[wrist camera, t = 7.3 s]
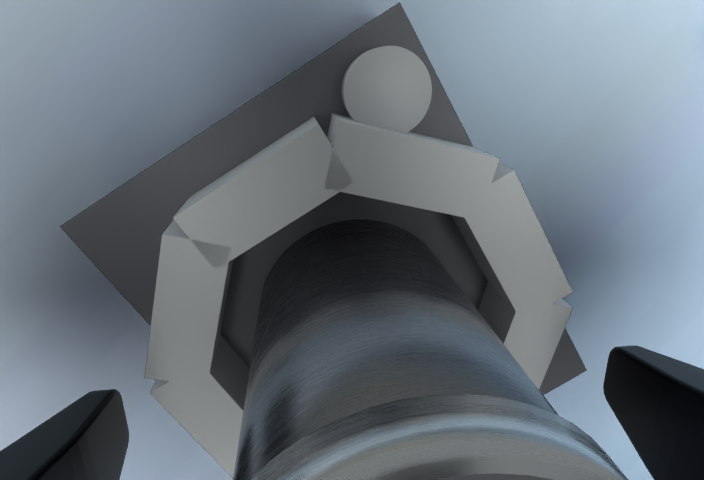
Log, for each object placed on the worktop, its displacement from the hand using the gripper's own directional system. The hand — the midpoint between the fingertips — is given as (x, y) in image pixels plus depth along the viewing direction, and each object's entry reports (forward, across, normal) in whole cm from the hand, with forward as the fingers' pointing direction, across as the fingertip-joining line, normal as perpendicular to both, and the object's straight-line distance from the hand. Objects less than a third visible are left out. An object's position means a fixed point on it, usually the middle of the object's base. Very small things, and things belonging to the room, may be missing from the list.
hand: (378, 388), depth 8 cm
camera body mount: (+6, 0, 0) cm, 6 cm away
